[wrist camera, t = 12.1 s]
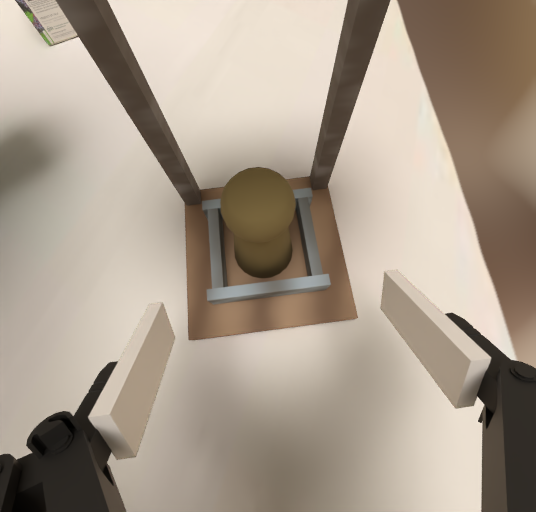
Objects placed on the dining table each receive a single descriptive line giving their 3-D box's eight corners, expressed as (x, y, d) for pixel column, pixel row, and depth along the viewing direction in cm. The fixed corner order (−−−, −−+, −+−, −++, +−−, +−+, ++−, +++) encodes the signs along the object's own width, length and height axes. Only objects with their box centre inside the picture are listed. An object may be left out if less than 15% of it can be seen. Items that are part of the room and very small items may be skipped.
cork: (259, 213, 28) (250, 137, 18) (304, 245, 27) (323, 184, 17) (222, 254, 27) (189, 199, 17) (268, 290, 26) (263, 255, 15)
